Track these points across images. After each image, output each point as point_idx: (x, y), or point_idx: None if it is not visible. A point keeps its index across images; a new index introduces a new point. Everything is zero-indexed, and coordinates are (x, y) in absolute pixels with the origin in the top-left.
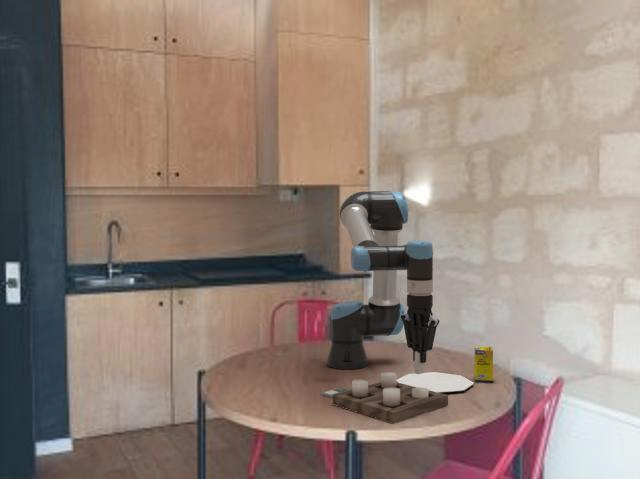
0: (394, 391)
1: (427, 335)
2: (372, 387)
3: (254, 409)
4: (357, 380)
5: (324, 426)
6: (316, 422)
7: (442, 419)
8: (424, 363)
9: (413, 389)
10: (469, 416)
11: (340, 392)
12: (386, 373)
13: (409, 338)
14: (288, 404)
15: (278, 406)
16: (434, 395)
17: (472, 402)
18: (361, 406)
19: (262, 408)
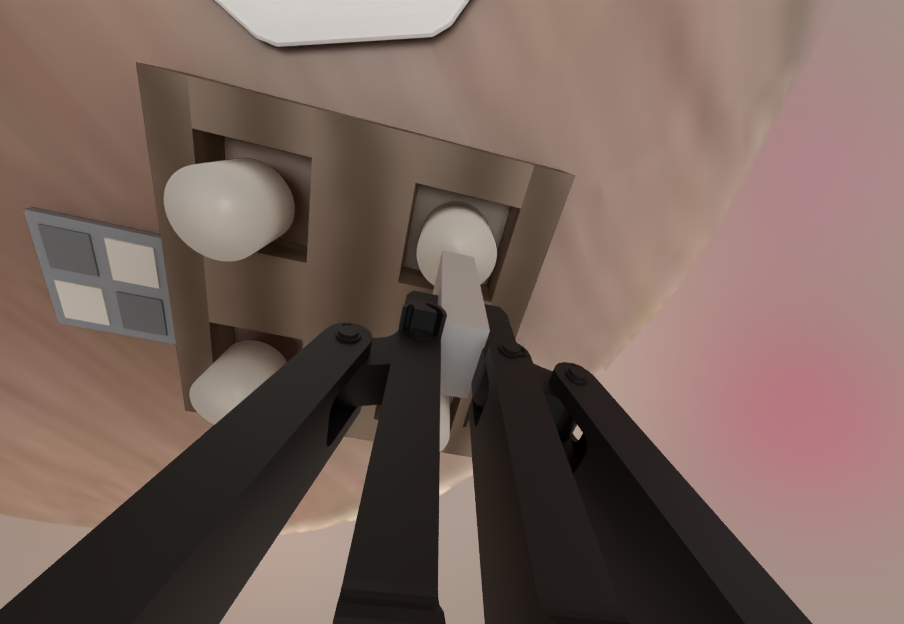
0: None
1: (632, 602)
2: None
3: (100, 503)
4: (205, 395)
5: (338, 510)
6: (302, 501)
7: (589, 337)
8: (478, 281)
9: (428, 271)
10: (673, 262)
11: (102, 280)
12: (194, 210)
13: (319, 468)
14: (112, 442)
15: (114, 464)
16: (511, 205)
17: (661, 48)
18: None
19: (105, 491)
